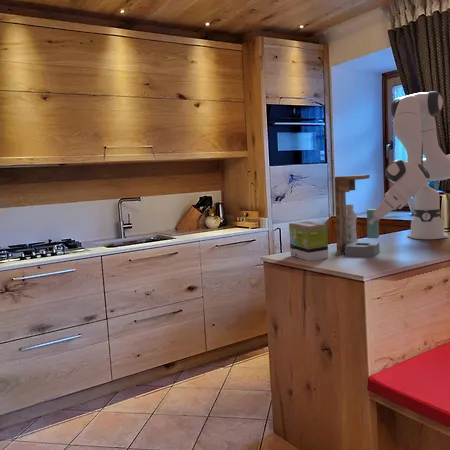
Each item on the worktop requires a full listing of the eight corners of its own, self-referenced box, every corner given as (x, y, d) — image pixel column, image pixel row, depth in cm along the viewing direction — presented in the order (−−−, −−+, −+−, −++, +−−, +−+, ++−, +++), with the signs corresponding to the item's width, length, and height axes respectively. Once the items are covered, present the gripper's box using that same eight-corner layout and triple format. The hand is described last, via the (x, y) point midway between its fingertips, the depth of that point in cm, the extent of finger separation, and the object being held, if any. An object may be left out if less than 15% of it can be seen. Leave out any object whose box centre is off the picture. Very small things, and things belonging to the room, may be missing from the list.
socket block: (351, 250, 205) (351, 241, 204) (379, 251, 199) (379, 242, 199) (345, 255, 194) (344, 246, 194) (374, 256, 189) (374, 247, 188)
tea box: (289, 256, 201) (288, 222, 199) (308, 253, 205) (307, 220, 203) (308, 261, 187) (307, 225, 185) (329, 258, 191) (328, 223, 189)
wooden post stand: (343, 250, 206) (341, 175, 203) (371, 251, 201) (369, 174, 197) (336, 255, 196) (334, 176, 192) (365, 256, 190) (363, 175, 186)
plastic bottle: (358, 249, 207) (357, 205, 205) (343, 249, 209) (341, 205, 206) (357, 246, 213) (356, 203, 211) (342, 246, 215) (341, 204, 212)
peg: (369, 236, 196) (368, 209, 195) (379, 236, 194) (378, 208, 193) (367, 238, 193) (366, 209, 191) (377, 238, 191) (376, 209, 190)
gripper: (393, 191, 197) (370, 214, 203) (385, 195, 179) (360, 220, 185) (404, 202, 196) (381, 224, 201) (397, 206, 178) (372, 231, 184)
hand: (371, 222), depth 193 cm, fingers closed on peg, 4 cm apart
